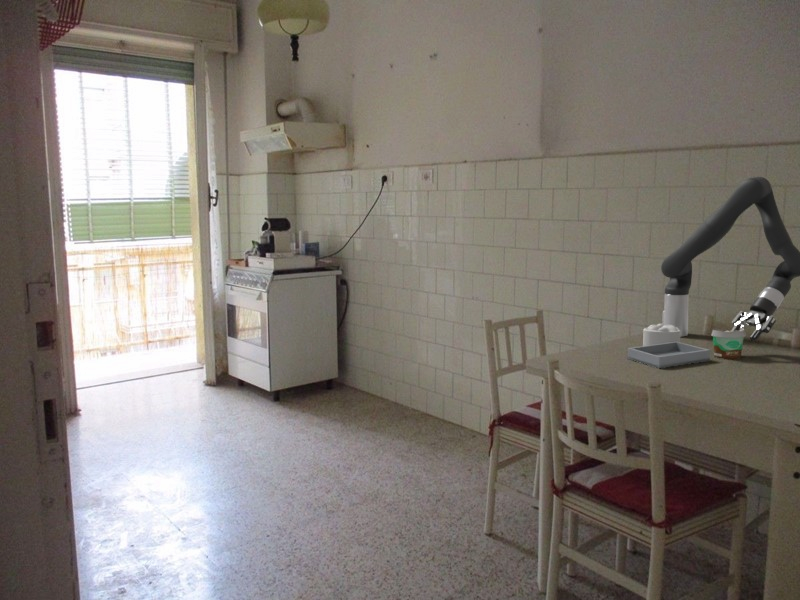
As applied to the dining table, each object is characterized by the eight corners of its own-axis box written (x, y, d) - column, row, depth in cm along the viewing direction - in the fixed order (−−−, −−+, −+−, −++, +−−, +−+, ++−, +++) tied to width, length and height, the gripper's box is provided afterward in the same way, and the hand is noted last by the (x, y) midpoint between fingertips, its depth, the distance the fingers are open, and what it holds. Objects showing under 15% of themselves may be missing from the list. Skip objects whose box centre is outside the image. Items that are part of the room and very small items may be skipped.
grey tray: (627, 359, 240) (627, 348, 240) (676, 352, 248) (676, 341, 247) (659, 368, 226) (659, 357, 225) (709, 361, 233) (710, 349, 233)
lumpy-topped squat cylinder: (681, 350, 250) (682, 328, 249) (644, 350, 253) (645, 327, 252) (676, 344, 260) (676, 322, 259) (641, 344, 263) (641, 322, 262)
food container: (722, 361, 232) (723, 333, 231) (710, 357, 238) (711, 329, 237) (753, 358, 235) (754, 330, 233) (740, 354, 241) (741, 327, 239)
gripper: (745, 293, 245) (720, 327, 242) (779, 298, 231) (753, 334, 229) (755, 306, 247) (730, 340, 245) (790, 312, 234) (764, 347, 232)
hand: (741, 337), depth 237 cm, fingers open, 8 cm apart
